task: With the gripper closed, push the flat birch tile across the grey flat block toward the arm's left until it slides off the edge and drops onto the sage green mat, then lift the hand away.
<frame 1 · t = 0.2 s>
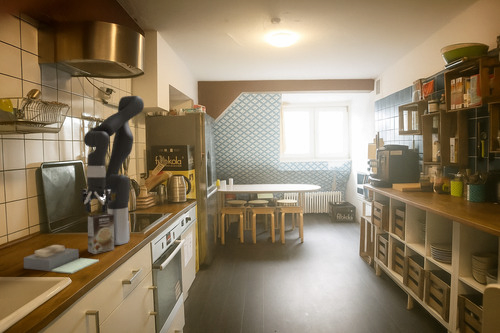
hand: (96, 212, 141), 17 cm above the countertop, tool pointing down, fingers open, 8 cm apart
tile: (50, 253, 126), point 4 cm above the countertop, touching grey flat block
mat: (76, 265, 123), on the countertop
grey flat block: (52, 263, 125), on the countertop
coffee box: (101, 251, 142), on the countertop
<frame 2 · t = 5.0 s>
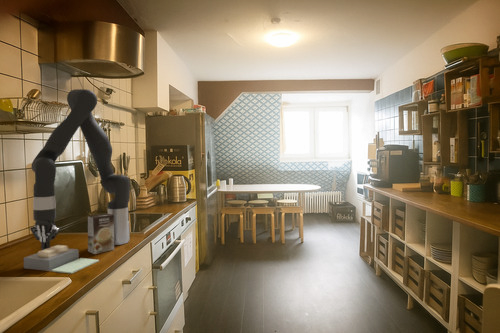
hand: (45, 250, 126), 5 cm above the countertop, tool pointing down, fingers closed
tile: (53, 253, 125), point 4 cm above the countertop
everything else where it was.
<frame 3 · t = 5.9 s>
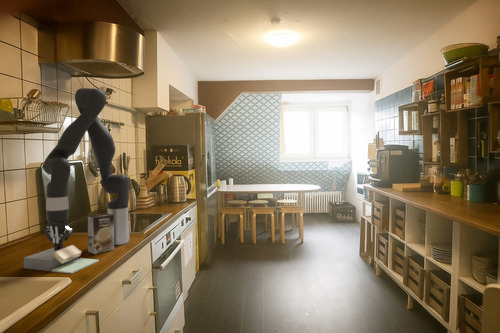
hand: (58, 252, 124), 5 cm above the countertop, tool pointing down, fingers closed
tile: (66, 255, 124), point 4 cm above the countertop, tilted 31°
everything else where it was.
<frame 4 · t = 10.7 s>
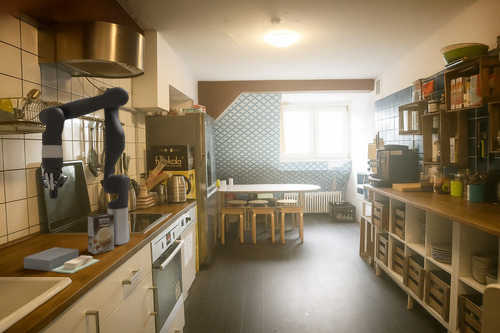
hand: (53, 198, 130), 25 cm above the countertop, tool pointing down, fingers closed
tile: (78, 259, 122), point 2 cm above the countertop, tilted 180°, touching mat
everything else where it was.
at the end: tile inside the target area (0.9 cm from its centre), point 2.5 cm above the countertop; tile touching mat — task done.
